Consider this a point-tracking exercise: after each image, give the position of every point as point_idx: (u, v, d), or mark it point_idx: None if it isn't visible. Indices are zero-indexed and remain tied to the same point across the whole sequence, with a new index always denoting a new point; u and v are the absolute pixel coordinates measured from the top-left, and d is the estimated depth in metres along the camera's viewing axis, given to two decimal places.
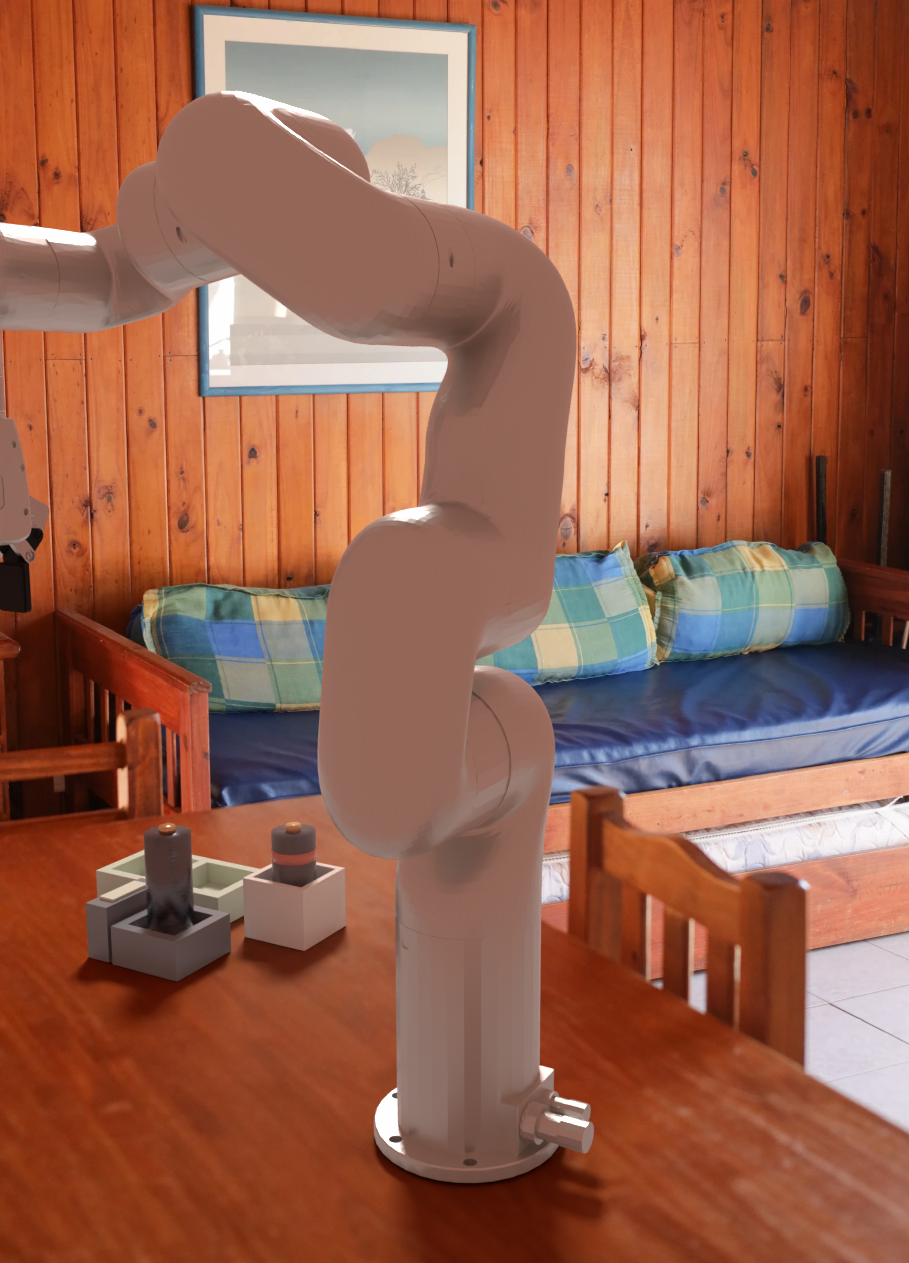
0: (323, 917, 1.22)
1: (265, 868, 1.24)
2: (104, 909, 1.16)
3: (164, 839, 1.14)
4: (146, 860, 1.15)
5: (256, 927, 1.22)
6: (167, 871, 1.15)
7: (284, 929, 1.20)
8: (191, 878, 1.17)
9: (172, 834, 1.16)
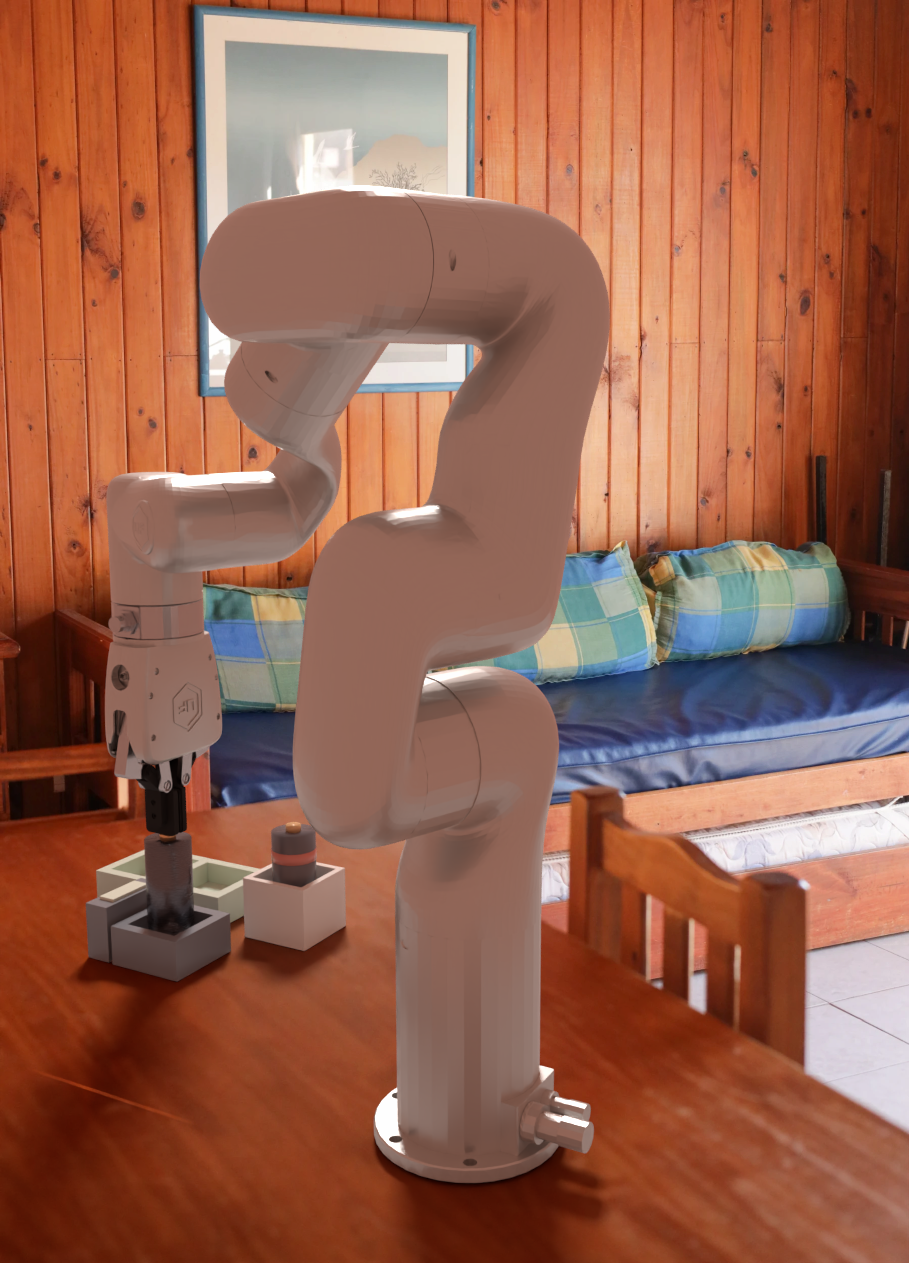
0: (323, 917, 1.22)
1: (265, 868, 1.24)
2: (104, 909, 1.16)
3: (165, 845, 1.14)
4: (147, 866, 1.15)
5: (256, 927, 1.22)
6: (168, 877, 1.15)
7: (284, 929, 1.20)
8: (191, 884, 1.17)
9: (173, 840, 1.16)
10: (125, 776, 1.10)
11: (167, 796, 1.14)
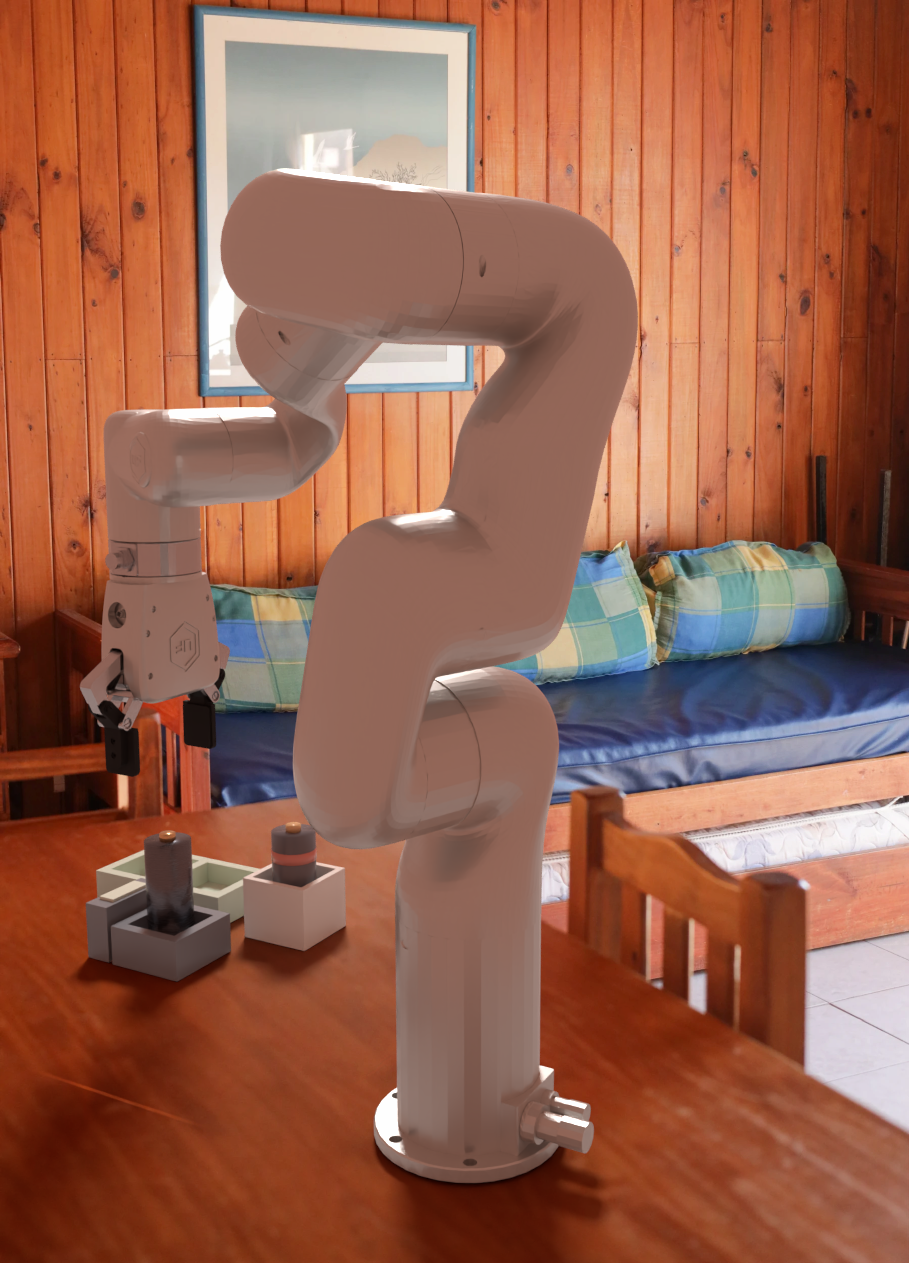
0: (323, 917, 1.22)
1: (265, 868, 1.24)
2: (104, 909, 1.16)
3: (164, 846, 1.15)
4: (146, 867, 1.15)
5: (256, 927, 1.22)
6: (167, 878, 1.15)
7: (284, 929, 1.20)
8: (191, 885, 1.17)
9: (173, 842, 1.16)
10: (90, 686, 1.06)
11: (127, 734, 1.10)
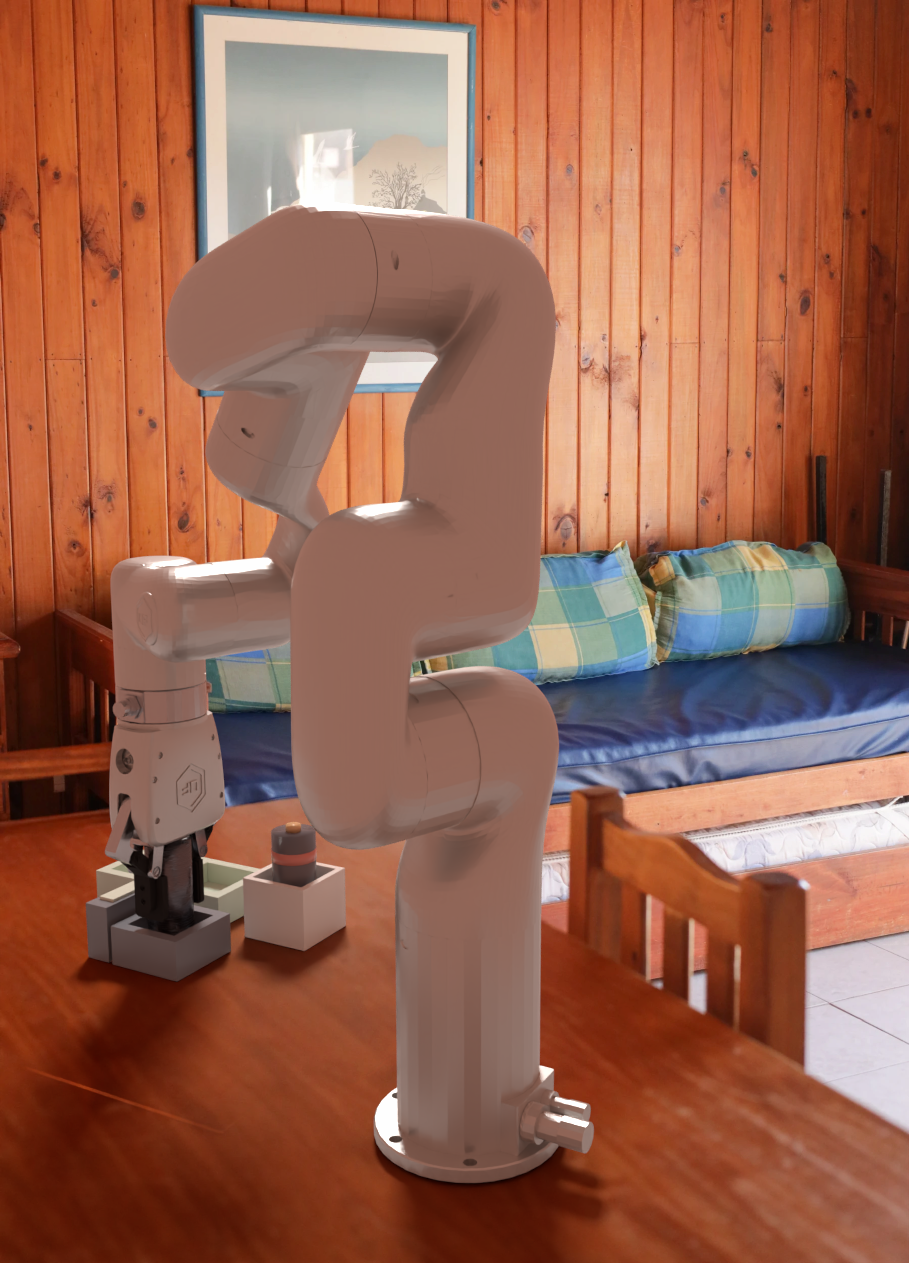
0: (323, 917, 1.22)
1: (265, 868, 1.24)
2: (104, 909, 1.16)
3: (164, 846, 1.15)
4: None
5: (256, 927, 1.22)
6: (167, 878, 1.15)
7: (284, 929, 1.20)
8: (191, 885, 1.17)
9: (173, 842, 1.16)
10: (115, 854, 1.10)
11: (156, 882, 1.14)
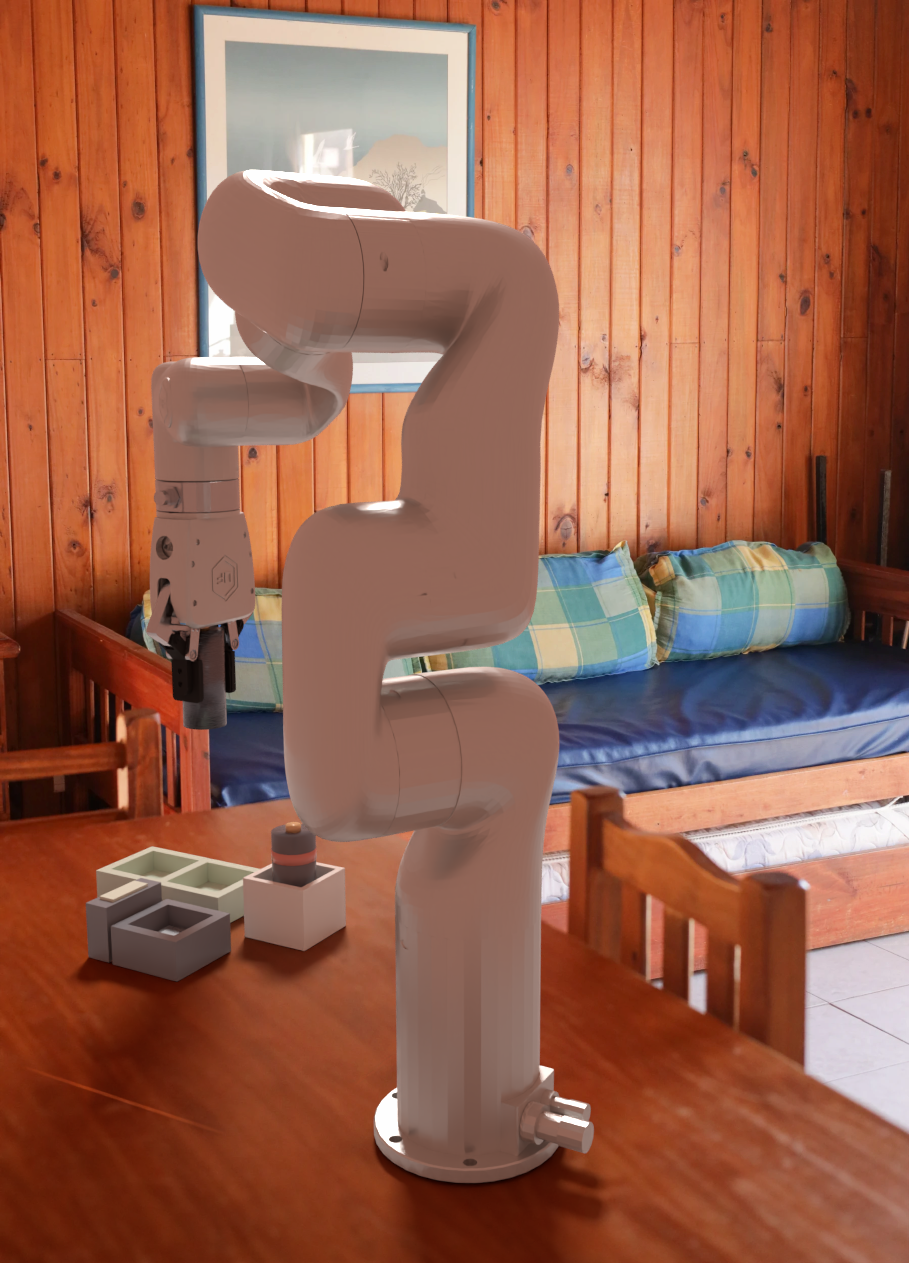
0: (323, 917, 1.22)
1: (265, 868, 1.24)
2: (104, 909, 1.16)
3: (200, 633, 1.23)
4: None
5: (256, 927, 1.22)
6: None
7: (284, 929, 1.20)
8: (224, 673, 1.26)
9: (207, 631, 1.24)
10: (156, 632, 1.19)
11: (193, 665, 1.23)
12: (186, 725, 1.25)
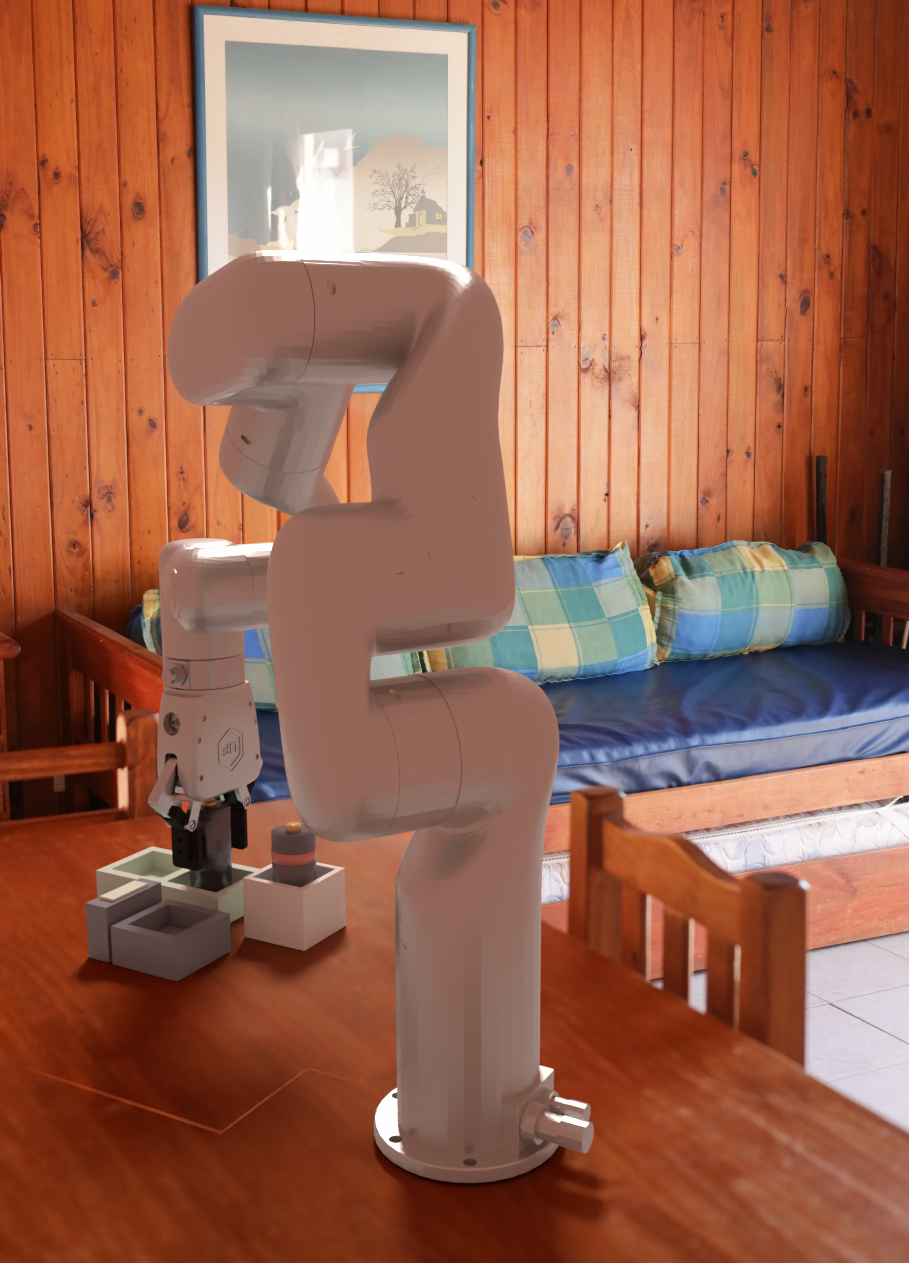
0: (323, 917, 1.22)
1: (265, 868, 1.24)
2: (104, 909, 1.16)
3: (206, 812, 1.26)
4: None
5: (256, 927, 1.22)
6: (209, 840, 1.27)
7: (284, 929, 1.20)
8: (230, 848, 1.28)
9: (214, 808, 1.27)
10: (157, 802, 1.21)
11: (192, 834, 1.25)
12: None
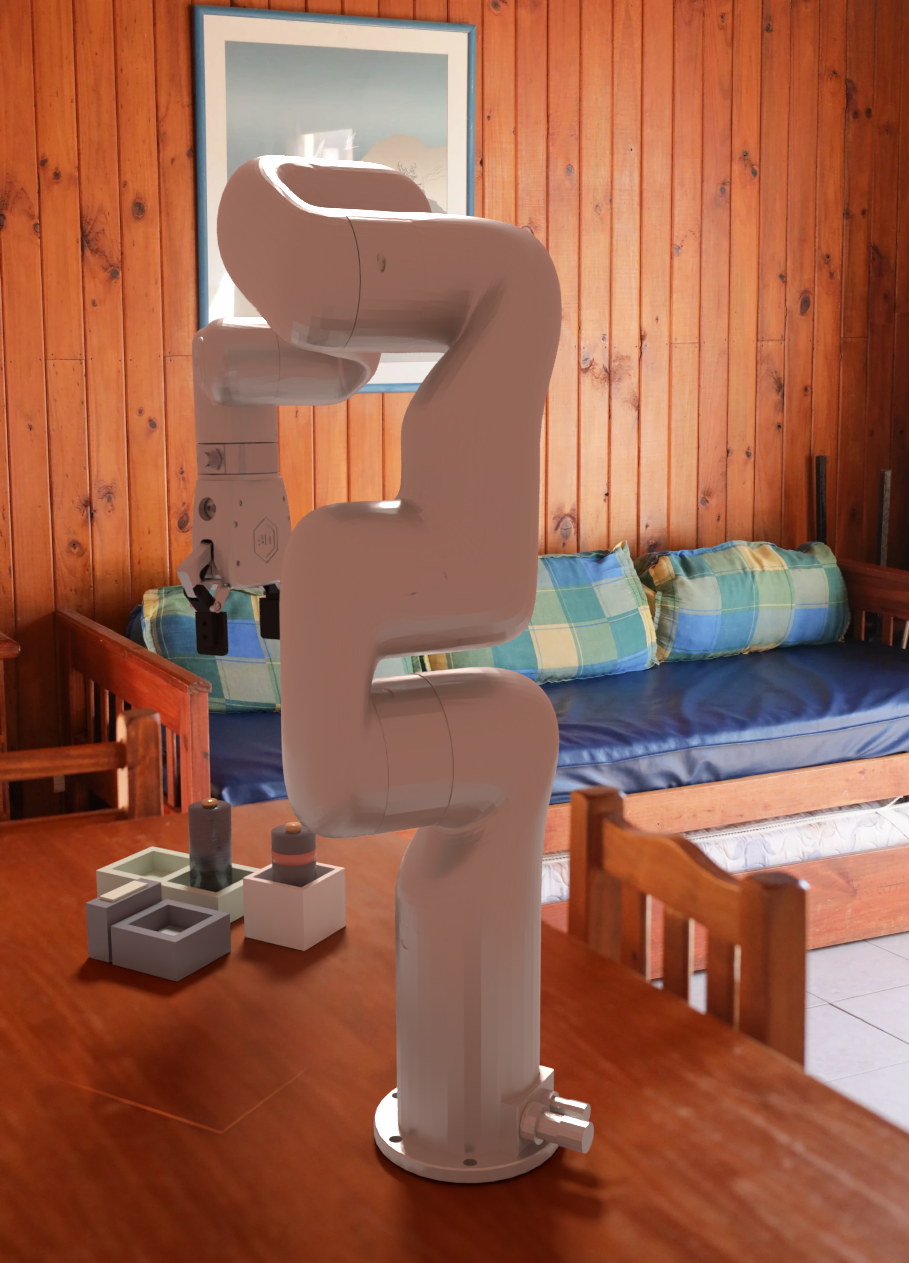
0: (323, 917, 1.22)
1: (265, 868, 1.24)
2: (104, 909, 1.16)
3: (207, 811, 1.26)
4: (190, 831, 1.27)
5: (256, 927, 1.22)
6: (210, 840, 1.27)
7: (284, 929, 1.20)
8: (230, 848, 1.28)
9: (214, 808, 1.27)
10: (187, 569, 1.18)
11: (217, 617, 1.22)
12: None
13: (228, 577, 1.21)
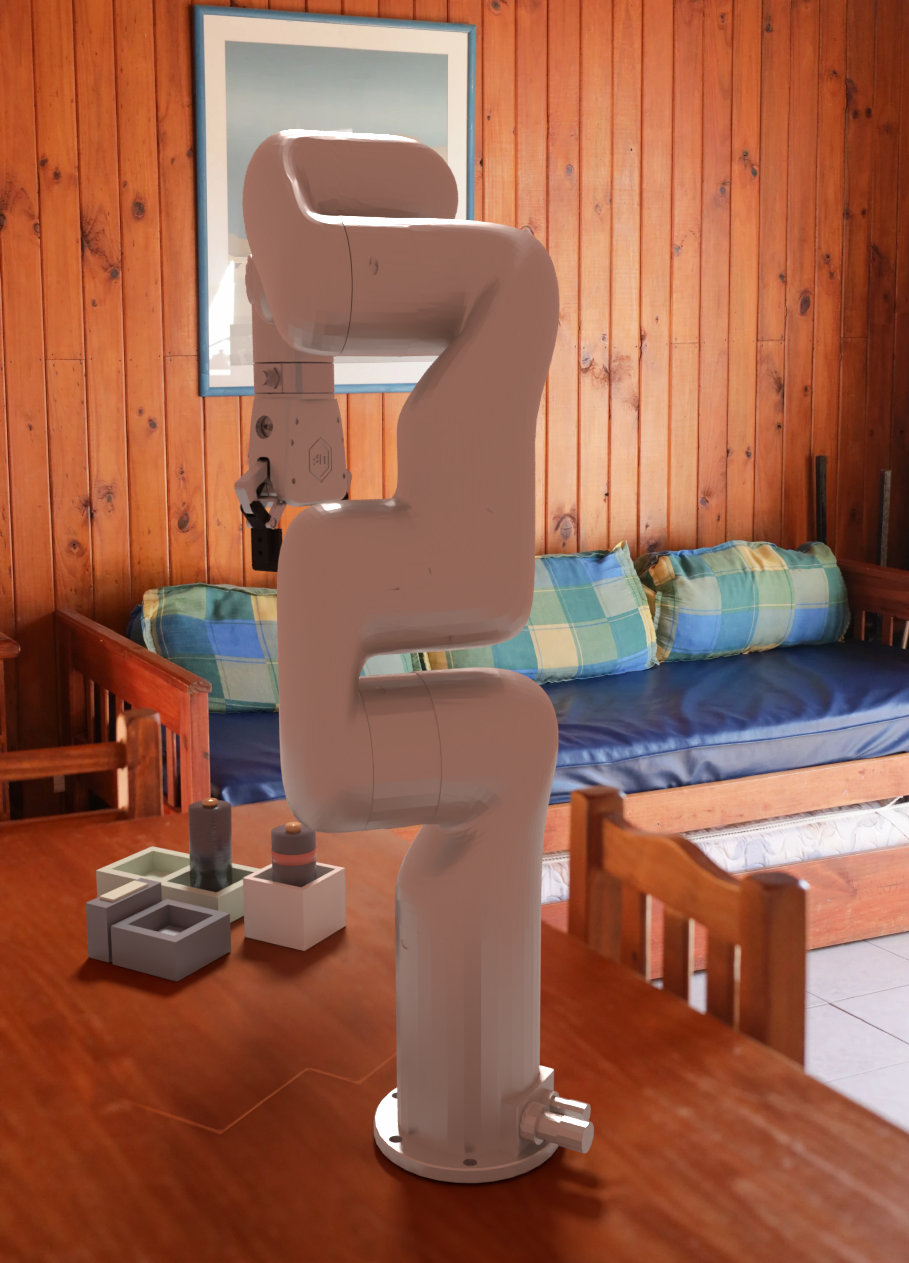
0: (323, 917, 1.22)
1: (265, 868, 1.24)
2: (104, 909, 1.16)
3: (208, 811, 1.26)
4: (191, 831, 1.27)
5: (256, 927, 1.22)
6: (210, 840, 1.27)
7: (284, 929, 1.20)
8: (231, 848, 1.29)
9: (215, 808, 1.27)
10: (244, 485, 1.21)
11: (272, 534, 1.24)
12: None
13: (284, 494, 1.23)
